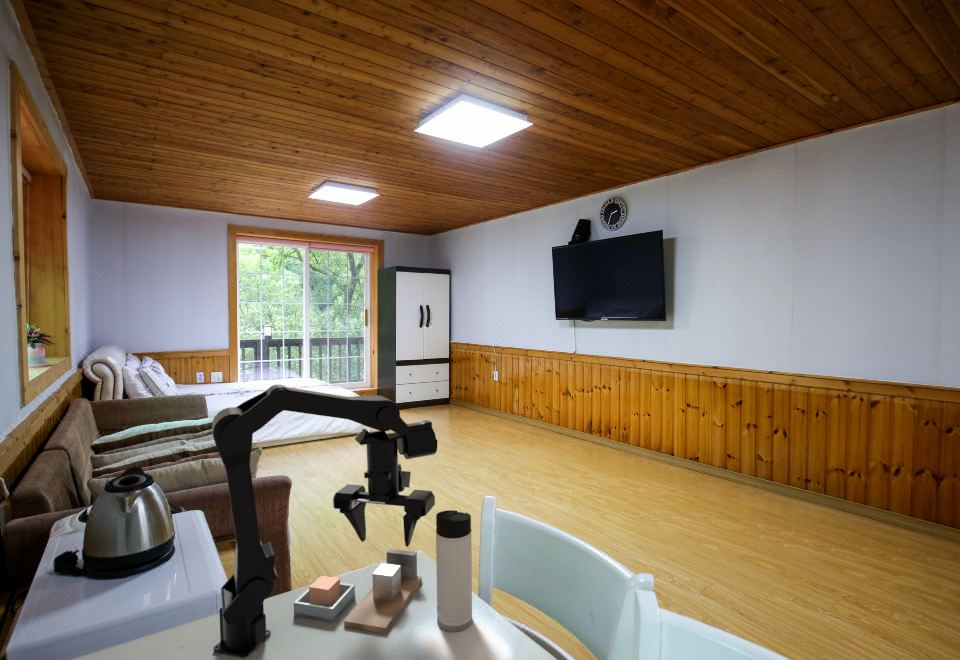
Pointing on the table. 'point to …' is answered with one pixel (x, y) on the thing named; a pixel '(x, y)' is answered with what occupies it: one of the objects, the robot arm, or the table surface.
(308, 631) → the table surface
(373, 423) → the robot arm
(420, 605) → the table surface
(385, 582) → the block
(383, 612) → the rail base
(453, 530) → the travel mug
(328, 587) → the block
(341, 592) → the tray
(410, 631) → the table surface
